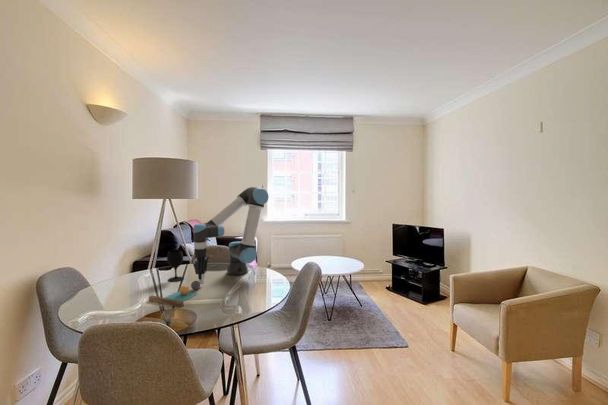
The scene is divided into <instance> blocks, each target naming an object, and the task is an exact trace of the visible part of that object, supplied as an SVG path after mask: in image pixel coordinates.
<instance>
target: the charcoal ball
mask: <svg viewBox="0 0 608 405" xmlns="http://www.w3.org/2000/svg"><path fill="white" fill-rule="evenodd" d="M190 287H191V289H192V290H194V291H195V290H196V291H197V290H198V289H200V288H201V284H200V282H199V280H193V281H192V282H191V284H190Z"/></svg>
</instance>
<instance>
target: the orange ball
mask: <svg viewBox="0 0 608 405" xmlns="http://www.w3.org/2000/svg"><path fill="white" fill-rule="evenodd" d="M178 291H179V292H180V294H181V295H186V294H187V293H188V292H190V288H189V286H187V285H182V286H181V287H180V288H179V290H178Z"/></svg>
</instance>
